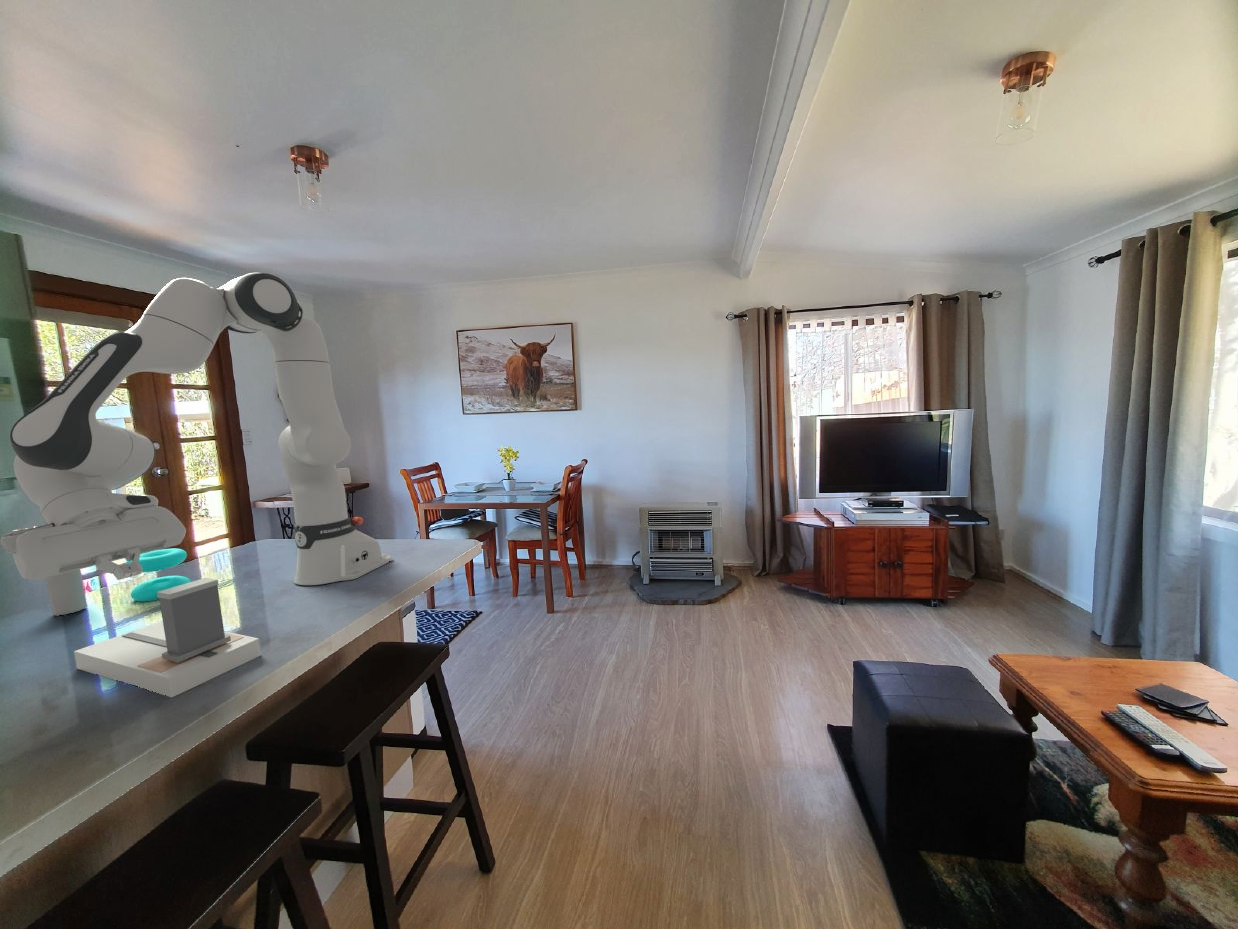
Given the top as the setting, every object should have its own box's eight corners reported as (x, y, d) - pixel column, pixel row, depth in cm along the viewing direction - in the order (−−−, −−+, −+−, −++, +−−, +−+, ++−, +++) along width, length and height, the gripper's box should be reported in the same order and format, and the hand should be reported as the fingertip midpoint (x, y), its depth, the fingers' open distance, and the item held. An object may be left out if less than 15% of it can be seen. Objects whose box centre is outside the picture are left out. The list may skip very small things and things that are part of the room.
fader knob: (162, 658, 70) (151, 592, 69) (215, 637, 77) (206, 576, 76) (178, 662, 69) (167, 595, 68) (230, 640, 75) (222, 578, 74)
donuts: (196, 545, 112) (164, 557, 102) (202, 584, 113) (171, 600, 103) (148, 549, 110) (111, 562, 100) (154, 589, 111) (118, 605, 101)
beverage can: (62, 617, 96) (52, 562, 95) (46, 616, 97) (35, 561, 96) (93, 607, 101) (83, 554, 99) (76, 606, 102) (67, 554, 100)
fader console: (77, 668, 75) (73, 650, 75) (169, 634, 86) (166, 618, 86) (171, 697, 66) (168, 676, 66) (261, 655, 77) (258, 637, 77)
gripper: (-3, 520, 70) (44, 587, 68) (165, 493, 89) (205, 545, 87) (-10, 547, 72) (35, 612, 70) (156, 515, 91) (195, 566, 89)
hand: (131, 575), depth 79 cm, fingers closed
